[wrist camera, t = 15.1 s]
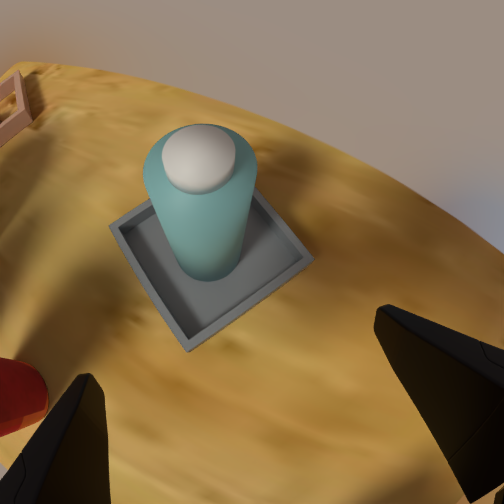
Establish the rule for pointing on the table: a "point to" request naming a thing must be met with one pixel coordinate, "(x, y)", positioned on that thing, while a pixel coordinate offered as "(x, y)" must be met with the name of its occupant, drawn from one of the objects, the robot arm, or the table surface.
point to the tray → (215, 292)
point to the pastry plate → (23, 114)
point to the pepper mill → (202, 196)
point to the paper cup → (20, 396)
